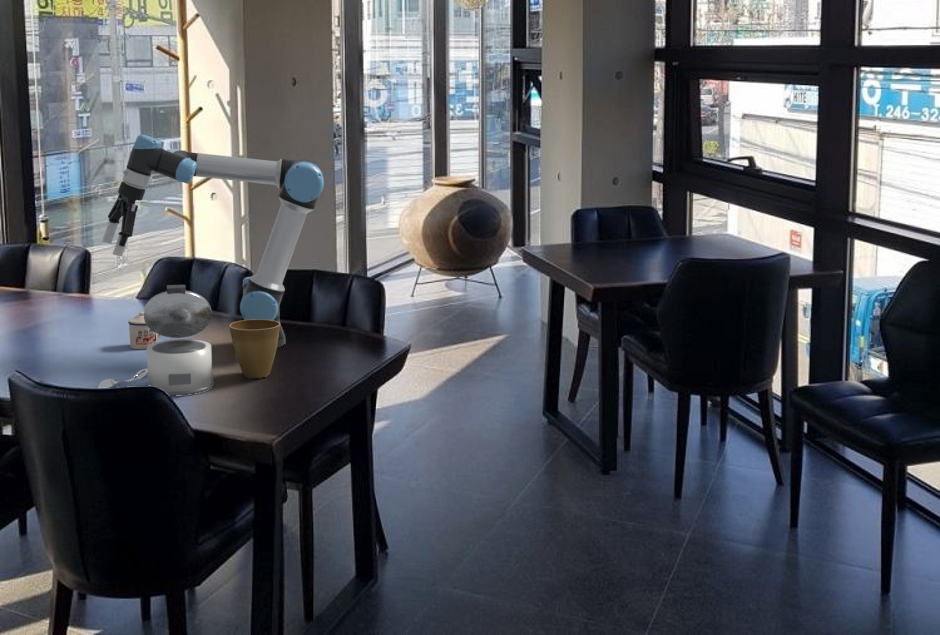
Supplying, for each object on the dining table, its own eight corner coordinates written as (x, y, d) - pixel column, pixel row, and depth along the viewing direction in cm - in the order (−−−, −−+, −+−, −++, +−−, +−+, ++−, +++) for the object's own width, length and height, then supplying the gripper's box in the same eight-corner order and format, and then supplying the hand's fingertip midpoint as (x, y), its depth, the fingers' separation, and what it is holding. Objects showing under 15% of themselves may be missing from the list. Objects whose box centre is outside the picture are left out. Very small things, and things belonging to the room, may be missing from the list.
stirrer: (140, 361, 332) (153, 363, 330) (141, 372, 333) (154, 374, 331) (93, 382, 314) (106, 384, 313) (95, 394, 315) (108, 396, 314)
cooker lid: (212, 336, 328) (212, 332, 329) (210, 287, 312) (210, 283, 313) (146, 339, 323) (146, 335, 324) (141, 289, 308) (141, 285, 309)
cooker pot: (213, 376, 330) (211, 337, 327) (214, 394, 312) (212, 353, 310) (148, 379, 326) (146, 340, 323) (146, 398, 308) (144, 357, 305)
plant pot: (291, 375, 332) (290, 324, 329) (251, 385, 322) (249, 332, 318) (261, 366, 342) (259, 316, 338) (221, 375, 331) (219, 323, 328)
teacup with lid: (135, 351, 357) (133, 316, 354) (125, 345, 364) (123, 311, 361) (170, 346, 364) (169, 312, 361) (160, 340, 371) (159, 306, 368)
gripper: (112, 171, 345) (90, 234, 348) (132, 191, 325) (109, 257, 328) (135, 178, 349) (113, 240, 353) (156, 198, 329) (133, 263, 333)
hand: (111, 248), depth 340 cm, fingers open, 13 cm apart
